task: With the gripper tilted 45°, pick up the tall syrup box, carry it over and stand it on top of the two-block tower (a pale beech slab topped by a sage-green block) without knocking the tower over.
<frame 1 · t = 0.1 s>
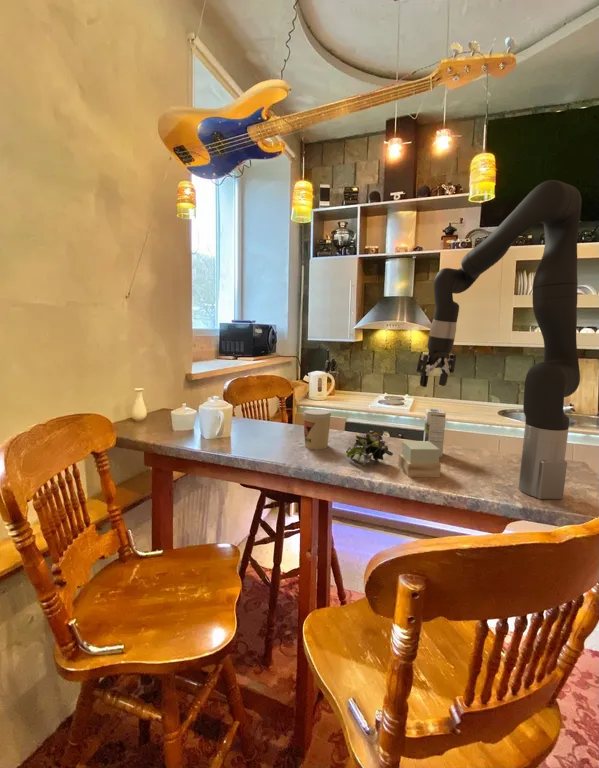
hand: (432, 385, 130), 22 cm above the table, tool pointing down, fingers open, 8 cm apart
coffee cup: (316, 446, 138), on the table
passion flower: (367, 464, 122), on the table
syrup box: (432, 454, 132), on the table
tower top: (419, 458, 116), point 4 cm above the table, touching tower base
tower base: (418, 472, 116), on the table, touching tower top
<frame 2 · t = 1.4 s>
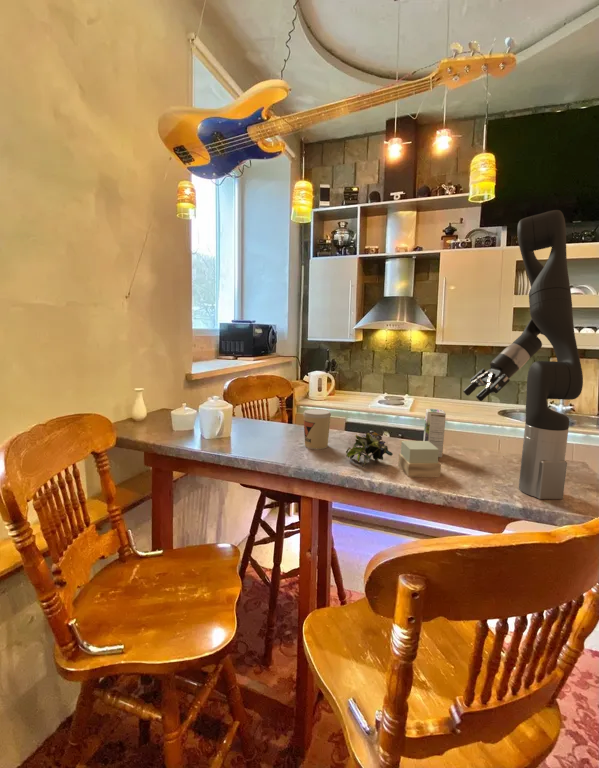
hand: (471, 396, 130), 19 cm above the table, tool tilted 45°, fingers open, 8 cm apart
nothing on the table moved.
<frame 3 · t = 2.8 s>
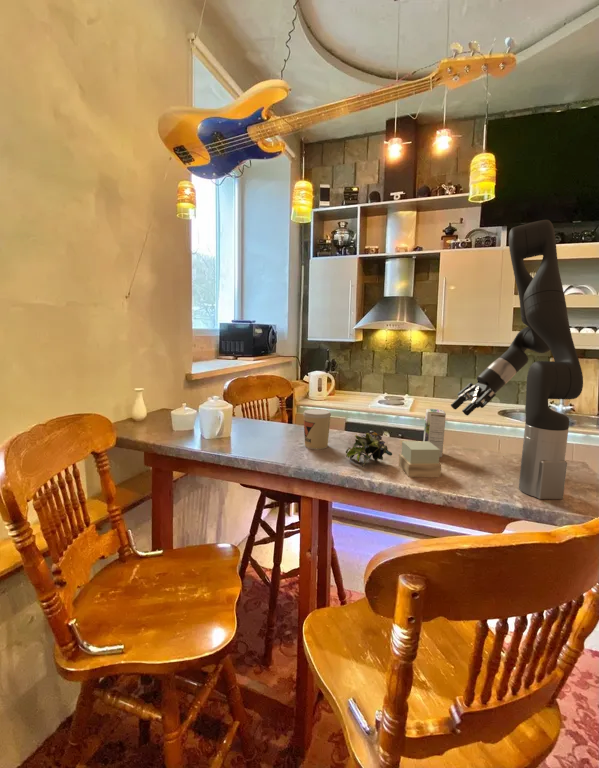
hand: (458, 410, 130), 15 cm above the table, tool tilted 45°, fingers open, 8 cm apart
nothing on the table moved.
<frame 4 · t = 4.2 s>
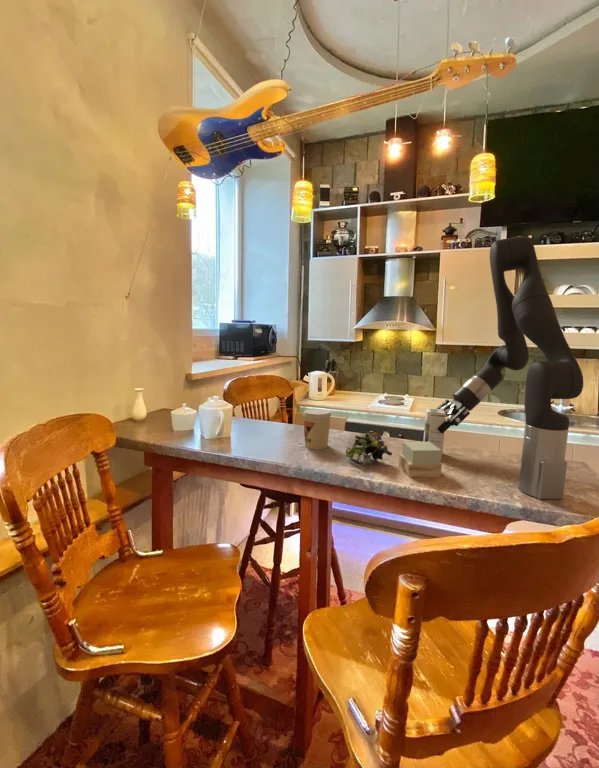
hand: (434, 427, 131), 9 cm above the table, tool tilted 45°, fingers open, 8 cm apart
nothing on the table moved.
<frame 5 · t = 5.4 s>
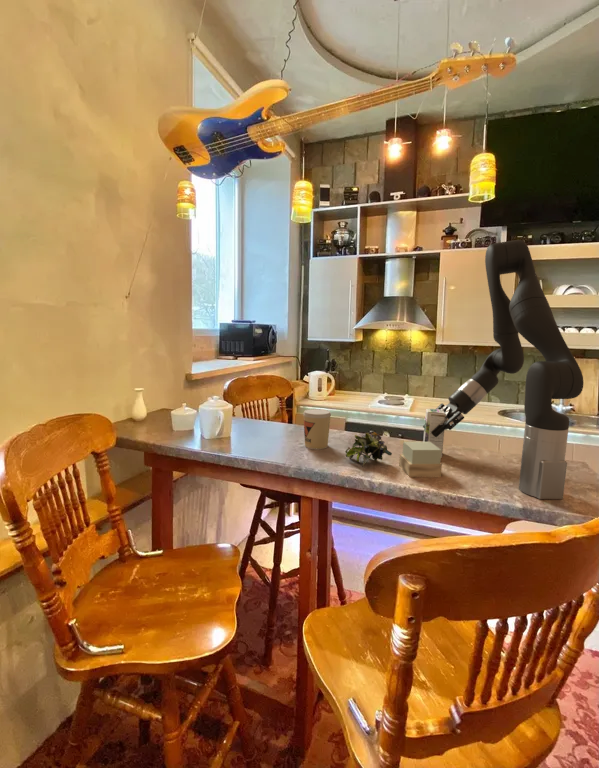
hand: (429, 431, 131), 7 cm above the table, tool tilted 45°, fingers closed on syrup box, 6 cm apart
syrup box: (432, 454, 132), on the table, touching gripper
tower top: (420, 459, 116), point 4 cm above the table
tower base: (419, 472, 116), on the table
everything else where it was.
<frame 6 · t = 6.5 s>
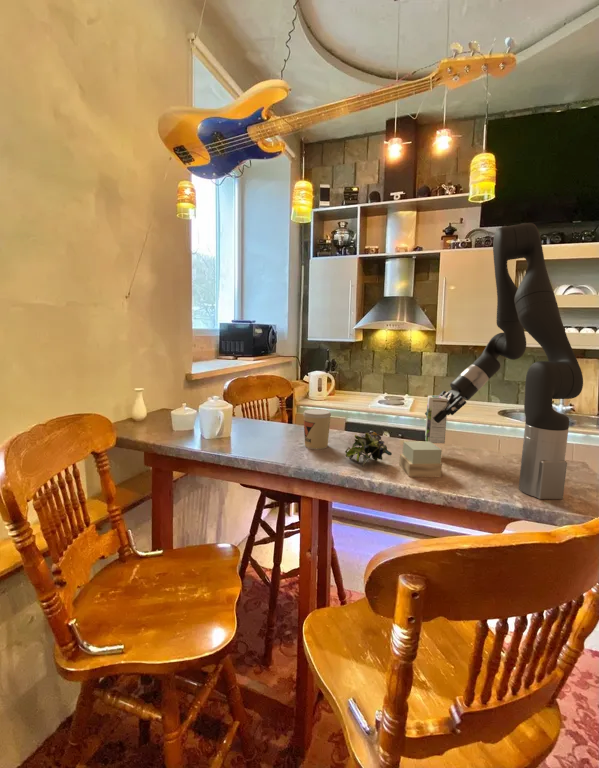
hand: (431, 418, 130), 12 cm above the table, tool tilted 45°, fingers closed on syrup box, 6 cm apart
syrup box: (434, 441, 131), point 4 cm above the table, touching gripper
everything else where it was.
when the fingers open (17 cm above the table, at t = 13.0 s): syrup box drops 2 cm, point 7 cm above the table.
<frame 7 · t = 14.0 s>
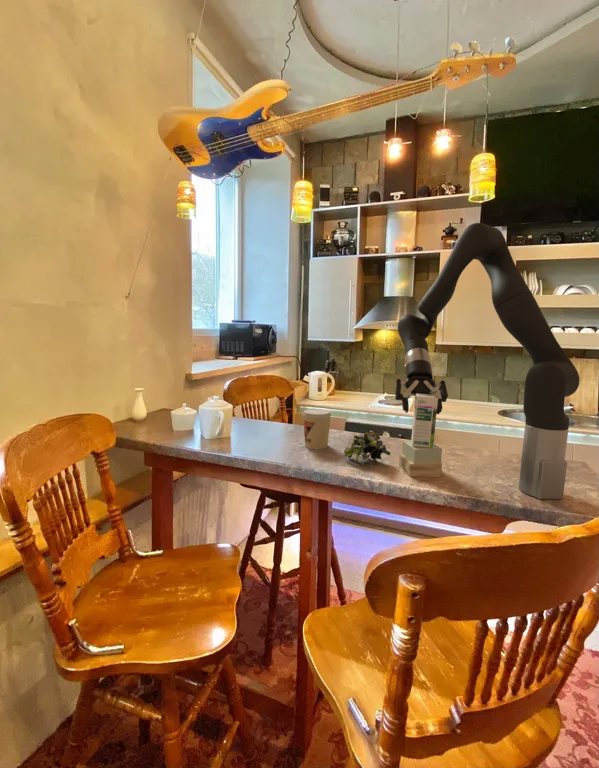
hand: (422, 411, 113), 18 cm above the table, tool tilted 45°, fingers open, 8 cm apart
syrup box: (421, 445, 116), point 7 cm above the table, touching gripper
tower top: (421, 458, 116), point 4 cm above the table, touching tower base
tower base: (419, 471, 117), on the table, touching tower top
everything else where it was.
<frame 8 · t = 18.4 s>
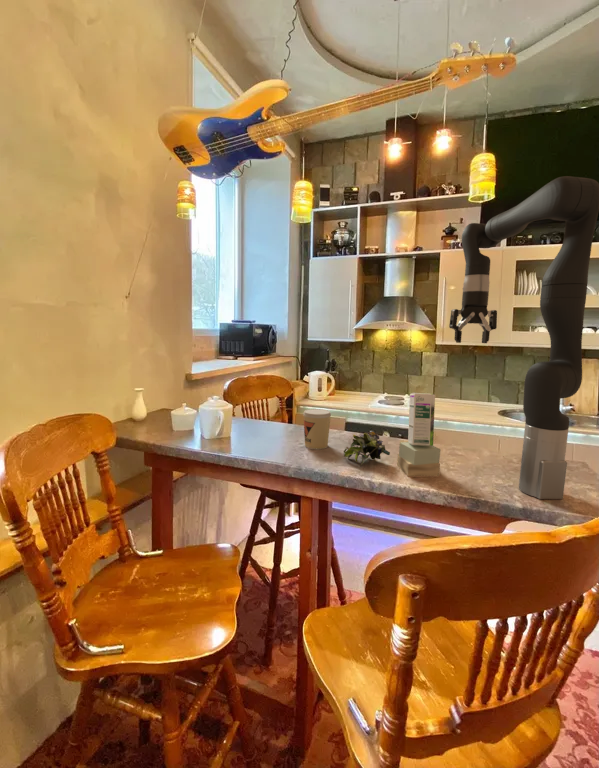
hand: (471, 342, 129), 36 cm above the table, tool pointing down, fingers open, 8 cm apart
syrup box: (420, 445, 115), point 8 cm above the table, touching tower top
tower top: (418, 459, 116), point 4 cm above the table, touching syrup box, tower base
everything else where it was.
at the end: syrup box 0.5 cm off-centre on the tower top, point 4.1 cm above the tower top's base; syrup box tilted 6°; tower top 0.6 cm off-centre on the tower base, point 4.0 cm above the tower base's base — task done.
